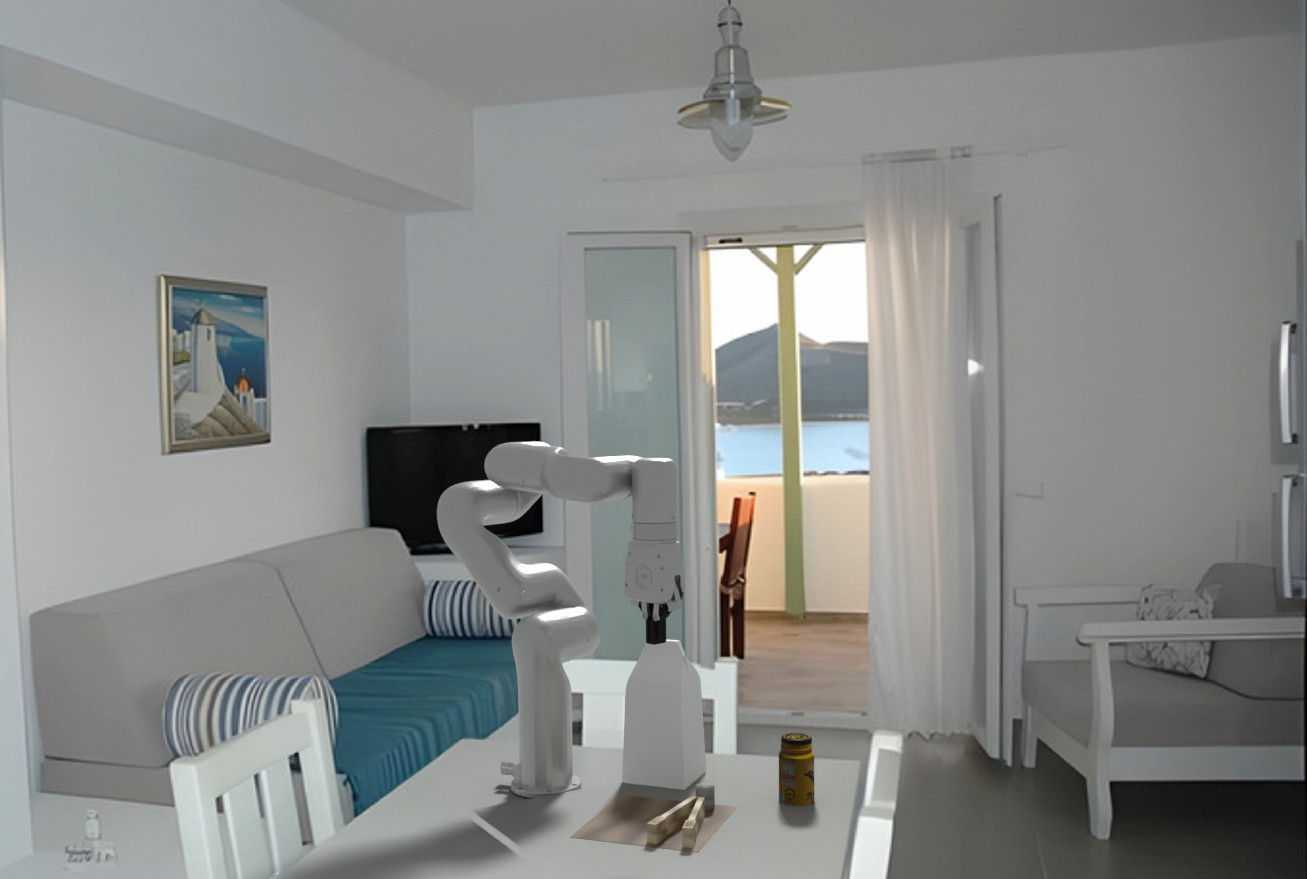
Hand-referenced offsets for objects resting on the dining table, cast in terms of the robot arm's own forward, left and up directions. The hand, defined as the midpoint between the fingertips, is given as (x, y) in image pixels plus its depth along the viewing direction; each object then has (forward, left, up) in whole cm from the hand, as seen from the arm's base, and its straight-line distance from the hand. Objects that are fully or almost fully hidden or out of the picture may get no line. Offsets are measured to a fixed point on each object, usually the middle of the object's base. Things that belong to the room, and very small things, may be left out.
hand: (656, 642), depth 205 cm
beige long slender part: (+8, -4, -28) cm, 30 cm away
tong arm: (+5, -7, -28) cm, 29 cm away
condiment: (+20, +12, -29) cm, 38 cm away
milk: (-5, +18, -29) cm, 35 cm away
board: (+1, -5, -29) cm, 30 cm away
